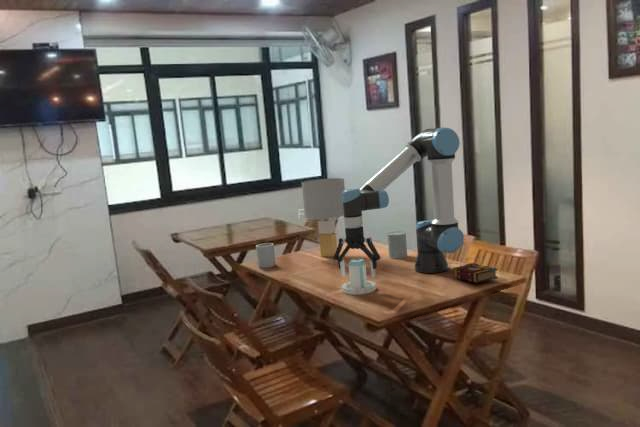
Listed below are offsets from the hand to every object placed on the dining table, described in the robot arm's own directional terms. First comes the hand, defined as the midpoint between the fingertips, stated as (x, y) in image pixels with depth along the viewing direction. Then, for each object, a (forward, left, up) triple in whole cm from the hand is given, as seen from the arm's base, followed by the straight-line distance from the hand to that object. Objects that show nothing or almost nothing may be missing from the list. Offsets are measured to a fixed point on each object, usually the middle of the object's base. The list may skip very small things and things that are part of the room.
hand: (358, 276), depth 233 cm
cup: (+65, -33, -6) cm, 73 cm away
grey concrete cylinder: (+2, -61, -6) cm, 61 cm away
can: (0, 0, -5) cm, 5 cm away
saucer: (0, 0, -6) cm, 6 cm away
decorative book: (-43, -25, -6) cm, 50 cm away
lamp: (+40, -58, -6) cm, 71 cm away
